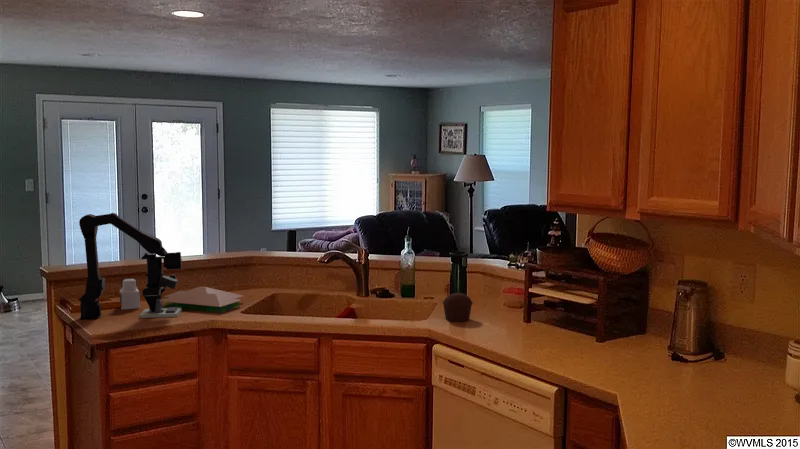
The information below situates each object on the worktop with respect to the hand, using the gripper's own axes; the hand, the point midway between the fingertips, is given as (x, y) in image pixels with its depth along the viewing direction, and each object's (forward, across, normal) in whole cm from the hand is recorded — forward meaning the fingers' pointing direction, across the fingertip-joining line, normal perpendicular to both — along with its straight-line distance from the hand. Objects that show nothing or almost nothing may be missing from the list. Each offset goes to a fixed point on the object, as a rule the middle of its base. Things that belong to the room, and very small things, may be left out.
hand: (155, 309), depth 286 cm
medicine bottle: (+2, +15, +13) cm, 20 cm away
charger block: (+2, 0, 0) cm, 2 cm away
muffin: (+2, -25, -116) cm, 118 cm away
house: (+3, +16, -17) cm, 23 cm away
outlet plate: (+2, 0, -2) cm, 3 cm away
